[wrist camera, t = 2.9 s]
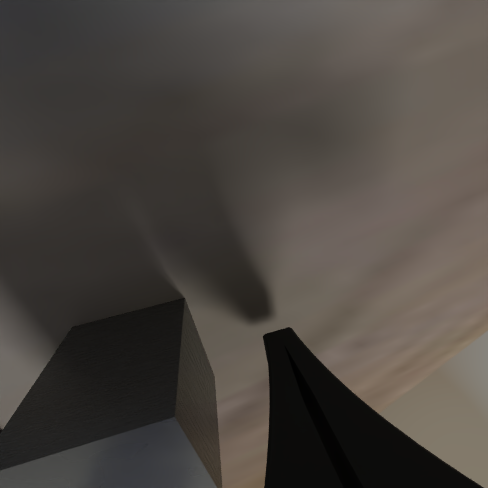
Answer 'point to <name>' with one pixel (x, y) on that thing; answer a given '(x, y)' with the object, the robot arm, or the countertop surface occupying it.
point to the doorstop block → (119, 409)
